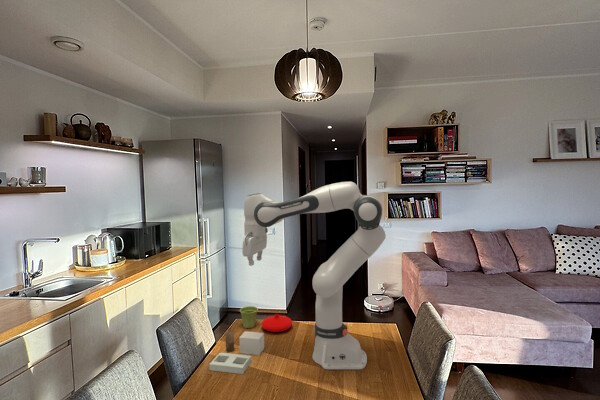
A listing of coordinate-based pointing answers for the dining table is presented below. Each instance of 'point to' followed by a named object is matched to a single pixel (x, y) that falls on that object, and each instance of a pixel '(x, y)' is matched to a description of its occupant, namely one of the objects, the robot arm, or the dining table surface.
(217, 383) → the dining table surface
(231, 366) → the peg board
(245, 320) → the plant pot
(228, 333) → the peg
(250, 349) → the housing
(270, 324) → the red domed lid
